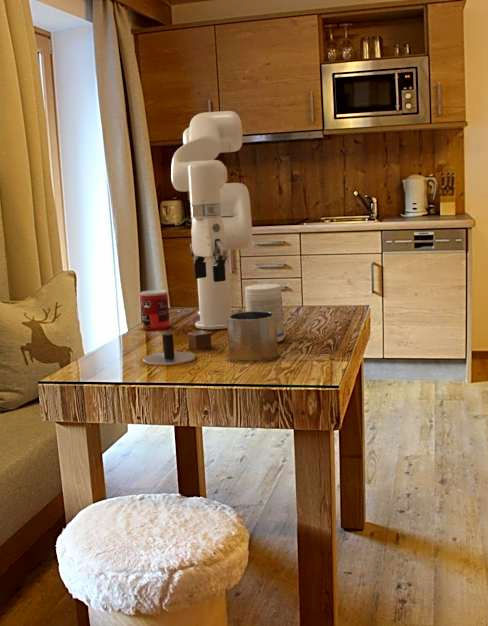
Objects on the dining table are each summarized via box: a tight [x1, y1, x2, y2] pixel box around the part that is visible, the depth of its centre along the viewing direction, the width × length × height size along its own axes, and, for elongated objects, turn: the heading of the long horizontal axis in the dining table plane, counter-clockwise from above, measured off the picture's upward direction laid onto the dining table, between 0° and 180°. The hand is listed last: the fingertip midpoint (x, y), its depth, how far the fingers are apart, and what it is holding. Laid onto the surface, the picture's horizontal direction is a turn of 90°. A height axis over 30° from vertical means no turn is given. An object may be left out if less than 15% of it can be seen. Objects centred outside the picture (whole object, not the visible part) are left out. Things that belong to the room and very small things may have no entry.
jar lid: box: [142, 332, 196, 367], centre depth 202 cm, size 13×13×7 cm
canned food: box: [139, 289, 170, 332], centre depth 245 cm, size 8×8×11 cm
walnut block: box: [187, 330, 212, 351], centre depth 213 cm, size 4×4×4 cm
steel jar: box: [227, 310, 279, 362], centre depth 200 cm, size 12×12×10 cm
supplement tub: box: [244, 283, 285, 343], centre depth 218 cm, size 10×10×15 cm
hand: (210, 279), depth 209 cm, fingers open, 9 cm apart
